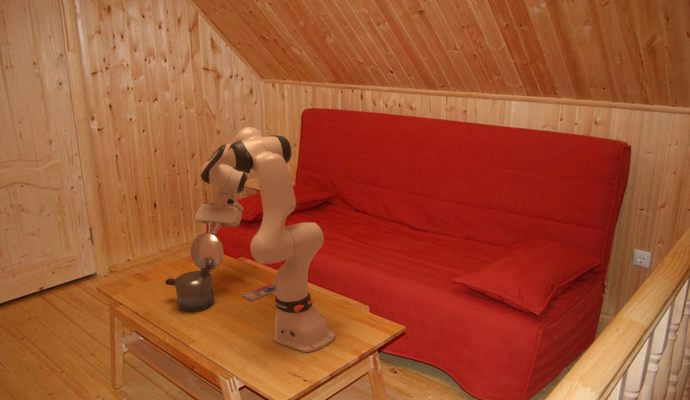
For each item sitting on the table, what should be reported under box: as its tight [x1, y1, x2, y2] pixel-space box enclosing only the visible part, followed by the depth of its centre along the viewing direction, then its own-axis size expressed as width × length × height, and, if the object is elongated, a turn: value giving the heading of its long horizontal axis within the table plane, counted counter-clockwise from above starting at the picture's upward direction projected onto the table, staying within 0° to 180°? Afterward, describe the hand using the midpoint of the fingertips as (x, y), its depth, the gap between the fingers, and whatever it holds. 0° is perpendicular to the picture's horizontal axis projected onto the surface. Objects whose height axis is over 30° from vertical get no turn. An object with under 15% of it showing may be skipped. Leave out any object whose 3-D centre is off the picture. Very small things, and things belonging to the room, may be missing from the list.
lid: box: [190, 232, 224, 273], centre depth 226 cm, size 16×15×3 cm
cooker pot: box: [165, 270, 216, 313], centre depth 221 cm, size 14×20×11 cm
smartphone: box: [242, 283, 276, 302], centre depth 228 cm, size 7×1×15 cm
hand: (211, 233), depth 227 cm, fingers closed
